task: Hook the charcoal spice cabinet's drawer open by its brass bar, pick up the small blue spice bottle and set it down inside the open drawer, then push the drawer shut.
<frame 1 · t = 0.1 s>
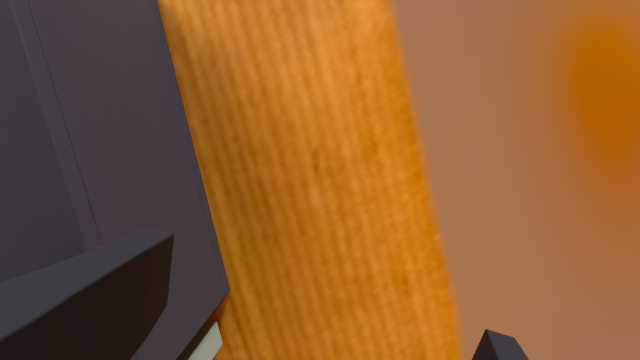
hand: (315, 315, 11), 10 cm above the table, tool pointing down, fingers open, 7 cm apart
cabinet: (64, 174, 24), on the table
drawer: (33, 316, 21), point 4 cm above the table, slide at 1.0 cm
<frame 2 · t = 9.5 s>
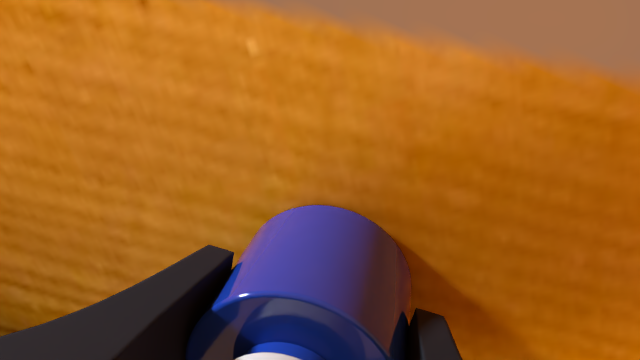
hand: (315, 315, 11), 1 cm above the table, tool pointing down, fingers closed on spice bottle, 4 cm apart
spice bottle: (326, 279, 13), on the table, touching gripper
when the fingers open (4 cm above the table, at t = 15.3 s): spice bottle stays where it is, resting on drawer.
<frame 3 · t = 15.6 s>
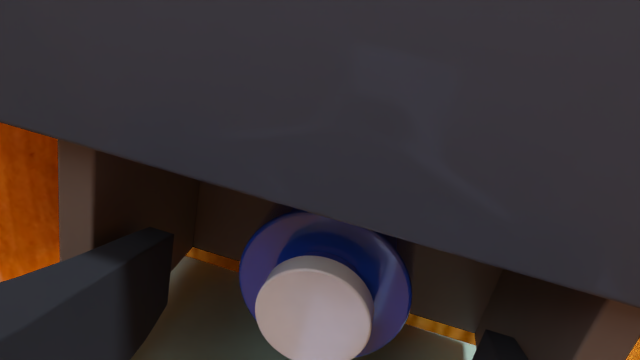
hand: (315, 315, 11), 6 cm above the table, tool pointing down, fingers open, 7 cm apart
spice bottle: (346, 221, 15), point 2 cm above the table, touching drawer
drawer: (324, 296, 14), point 4 cm above the table, slide at 7.3 cm, touching spice bottle
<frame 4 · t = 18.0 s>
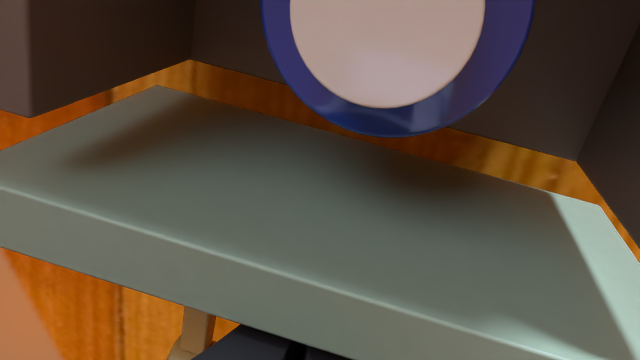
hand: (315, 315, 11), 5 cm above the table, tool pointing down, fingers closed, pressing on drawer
drawer: (381, 66, 9), point 4 cm above the table, slide at 7.0 cm, touching gripper, spice bottle
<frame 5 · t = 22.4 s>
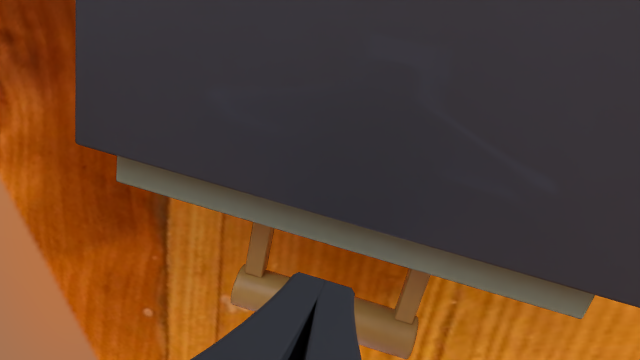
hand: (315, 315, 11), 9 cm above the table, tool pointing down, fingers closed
drawer: (388, 73, 14), point 4 cm above the table, slide at 0.0 cm, touching cabinet, spice bottle
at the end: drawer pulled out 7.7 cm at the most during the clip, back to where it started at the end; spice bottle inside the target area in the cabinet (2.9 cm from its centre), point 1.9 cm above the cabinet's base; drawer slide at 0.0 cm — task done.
